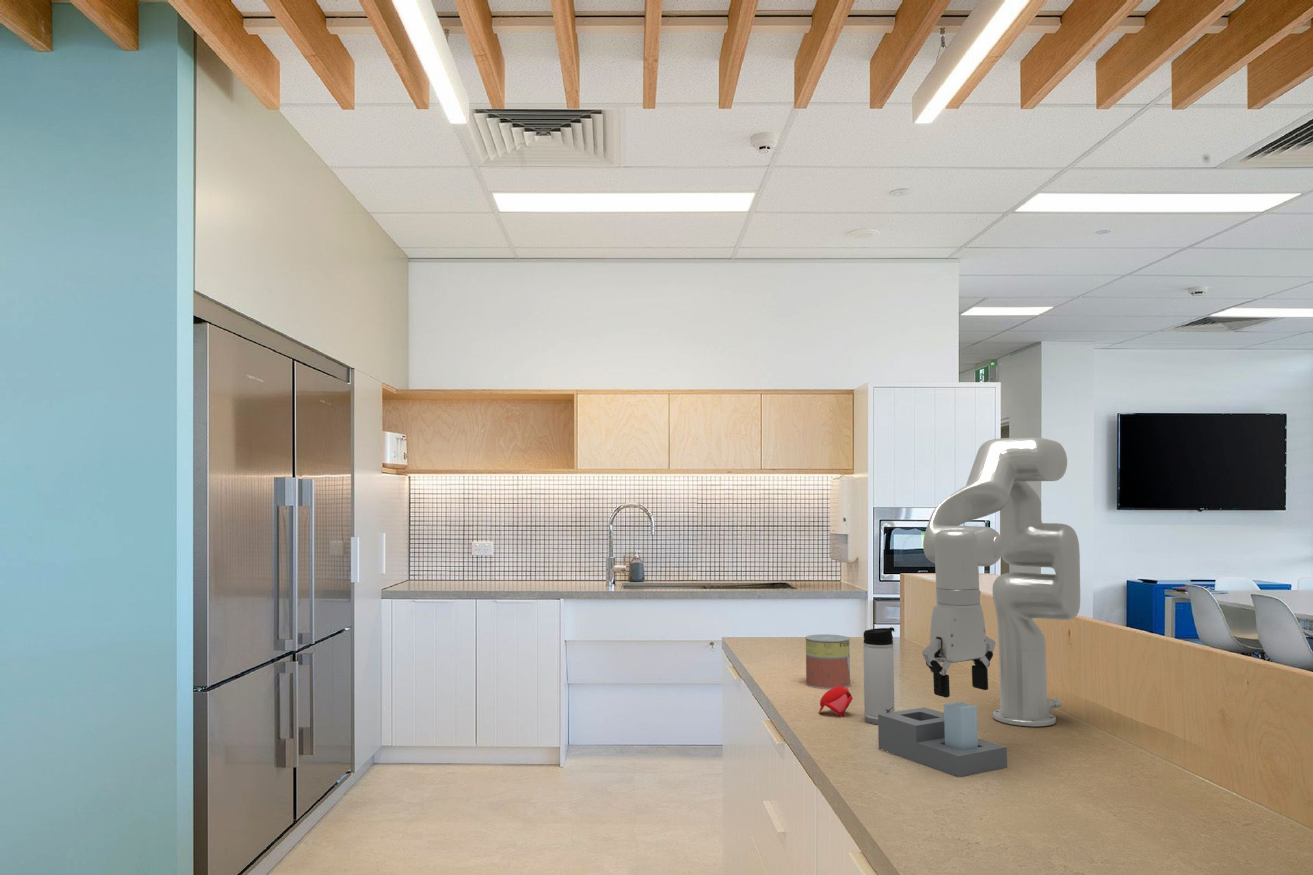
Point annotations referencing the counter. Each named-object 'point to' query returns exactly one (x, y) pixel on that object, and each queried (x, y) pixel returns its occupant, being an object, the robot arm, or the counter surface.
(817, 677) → the canned food
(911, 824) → the counter surface
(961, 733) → the plug
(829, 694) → the cap
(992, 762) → the socket panel
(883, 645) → the travel mug
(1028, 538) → the robot arm
